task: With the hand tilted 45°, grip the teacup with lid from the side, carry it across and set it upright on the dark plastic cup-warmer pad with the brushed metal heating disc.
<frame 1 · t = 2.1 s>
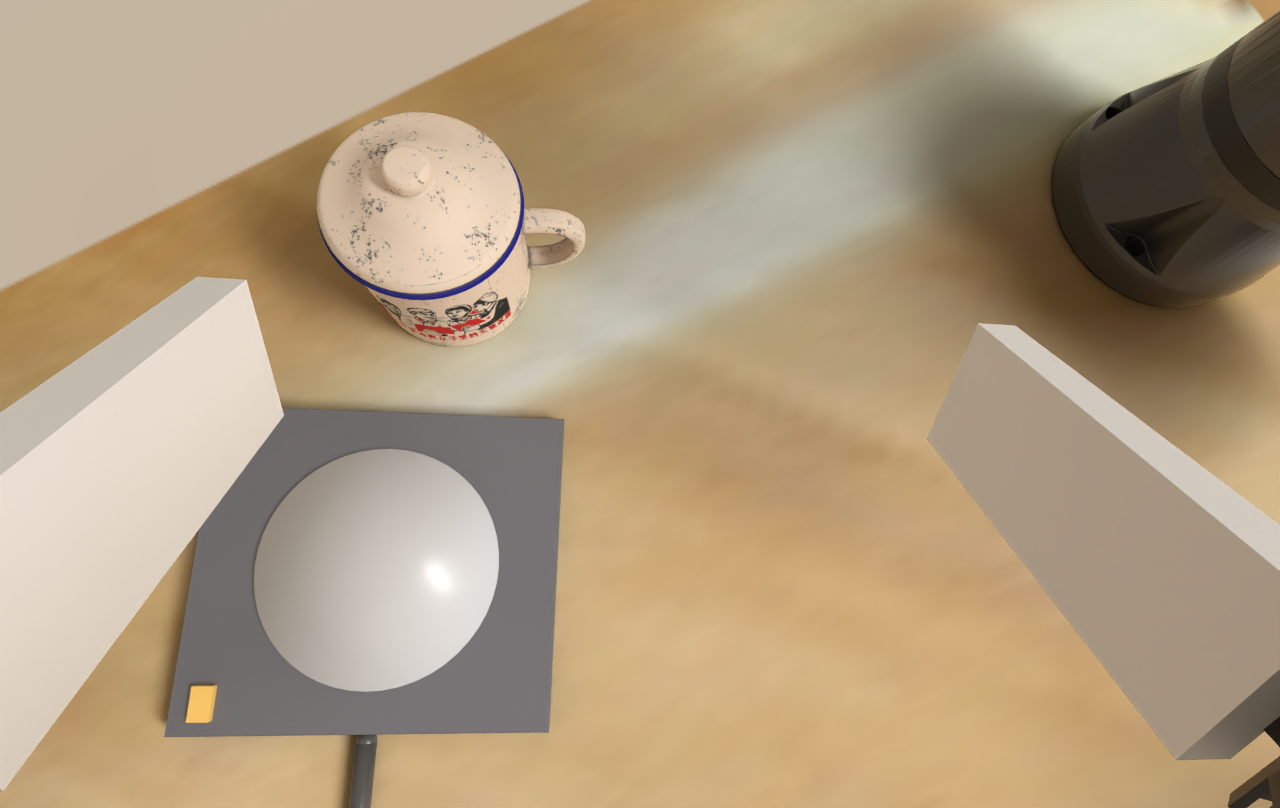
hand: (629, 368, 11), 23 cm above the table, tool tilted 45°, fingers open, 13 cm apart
warming pad: (387, 563, 32), on the table
teacup with lid: (483, 279, 36), on the table
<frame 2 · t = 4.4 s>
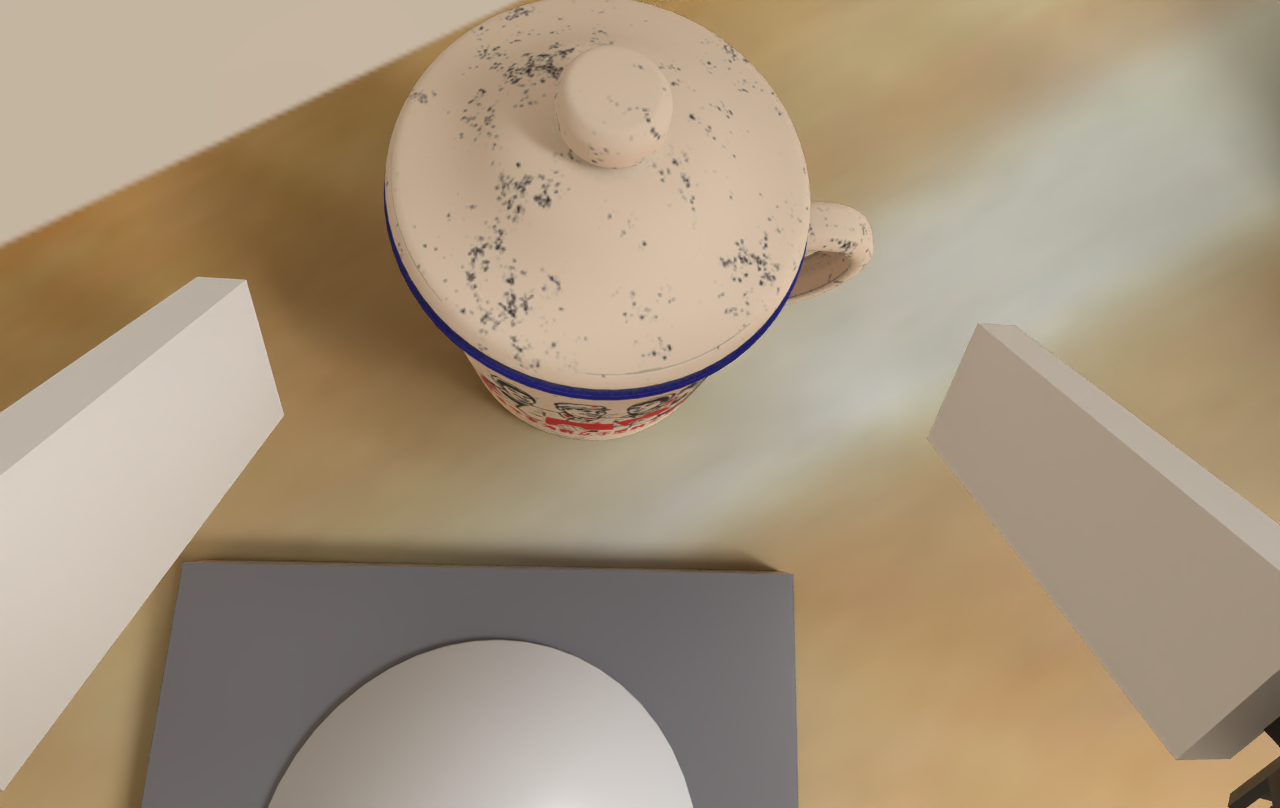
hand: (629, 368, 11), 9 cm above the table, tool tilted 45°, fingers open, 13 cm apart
teacup with lid: (632, 321, 22), on the table
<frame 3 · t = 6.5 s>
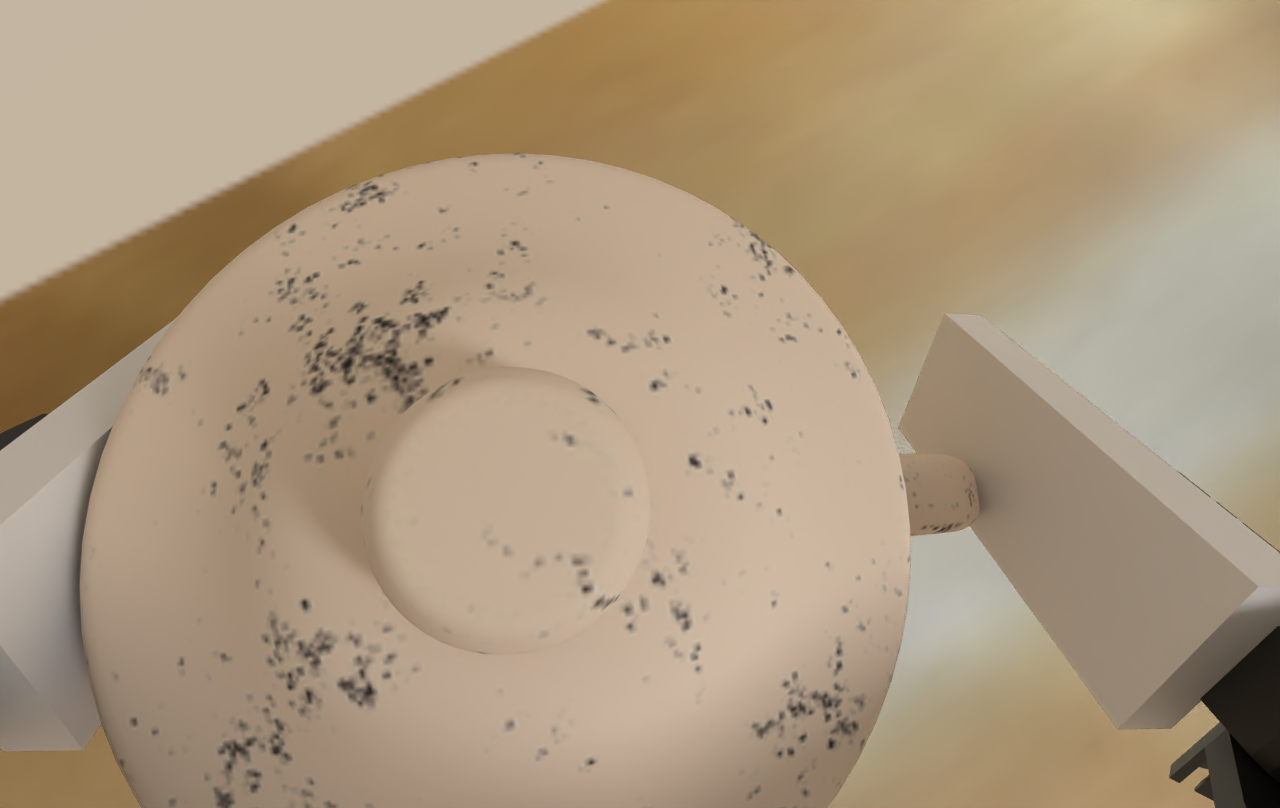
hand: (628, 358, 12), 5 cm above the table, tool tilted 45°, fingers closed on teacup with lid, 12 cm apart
teacup with lid: (608, 520, 16), on the table, touching gripper
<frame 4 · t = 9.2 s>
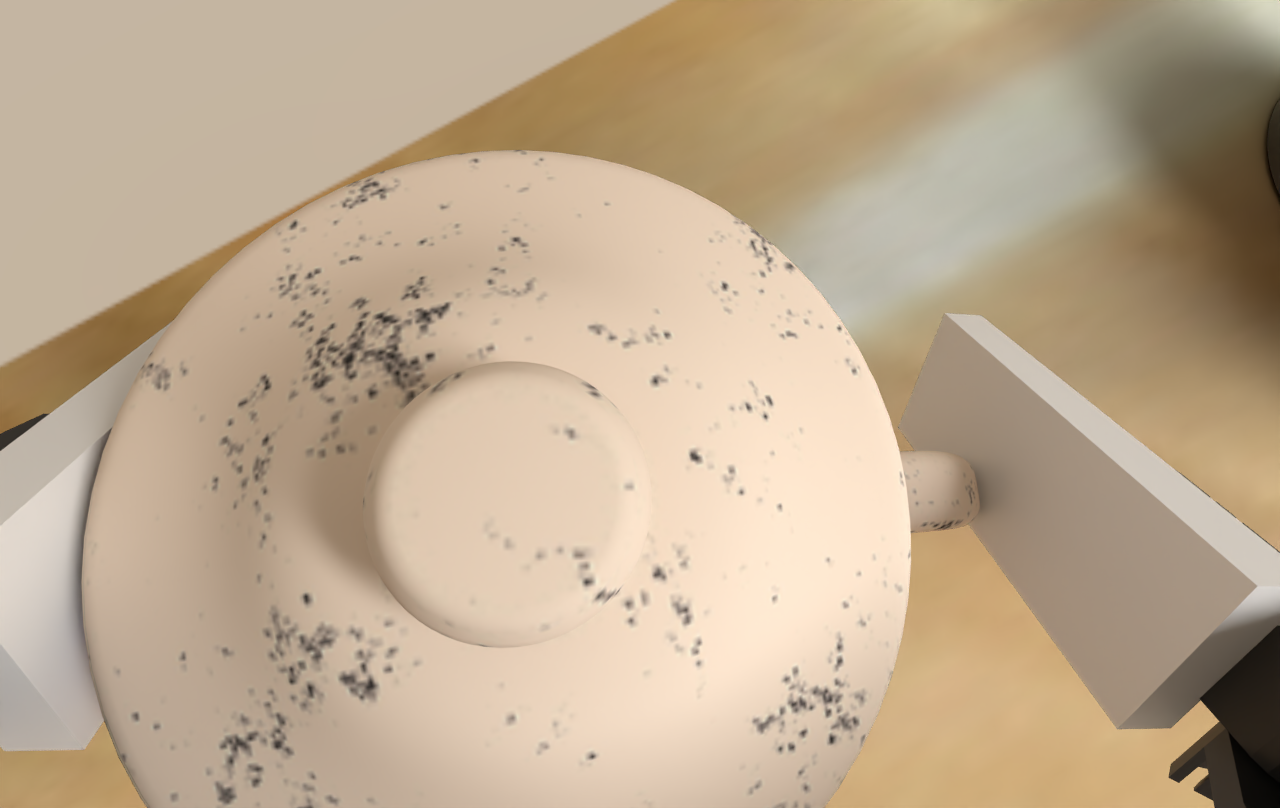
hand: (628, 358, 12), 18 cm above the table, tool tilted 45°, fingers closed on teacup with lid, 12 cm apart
teacup with lid: (608, 518, 16), point 13 cm above the table, touching gripper
when the fingers open (7 cm above the table, at t = 12.1 s): teacup with lid drops 1 cm, resting on warming pad.
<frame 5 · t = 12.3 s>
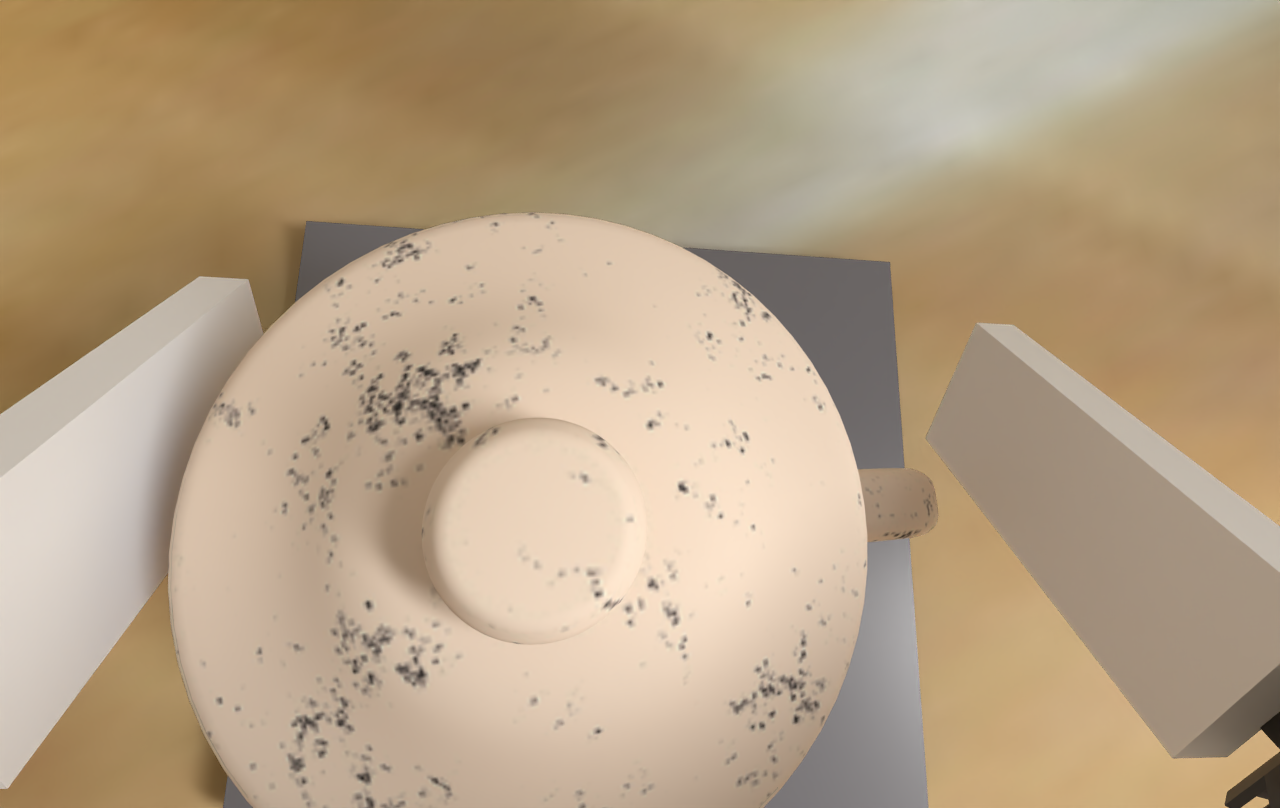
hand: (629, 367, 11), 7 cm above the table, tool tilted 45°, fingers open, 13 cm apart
warming pad: (603, 506, 18), on the table
teacup with lid: (605, 522, 17), point 1 cm above the table, touching warming pad
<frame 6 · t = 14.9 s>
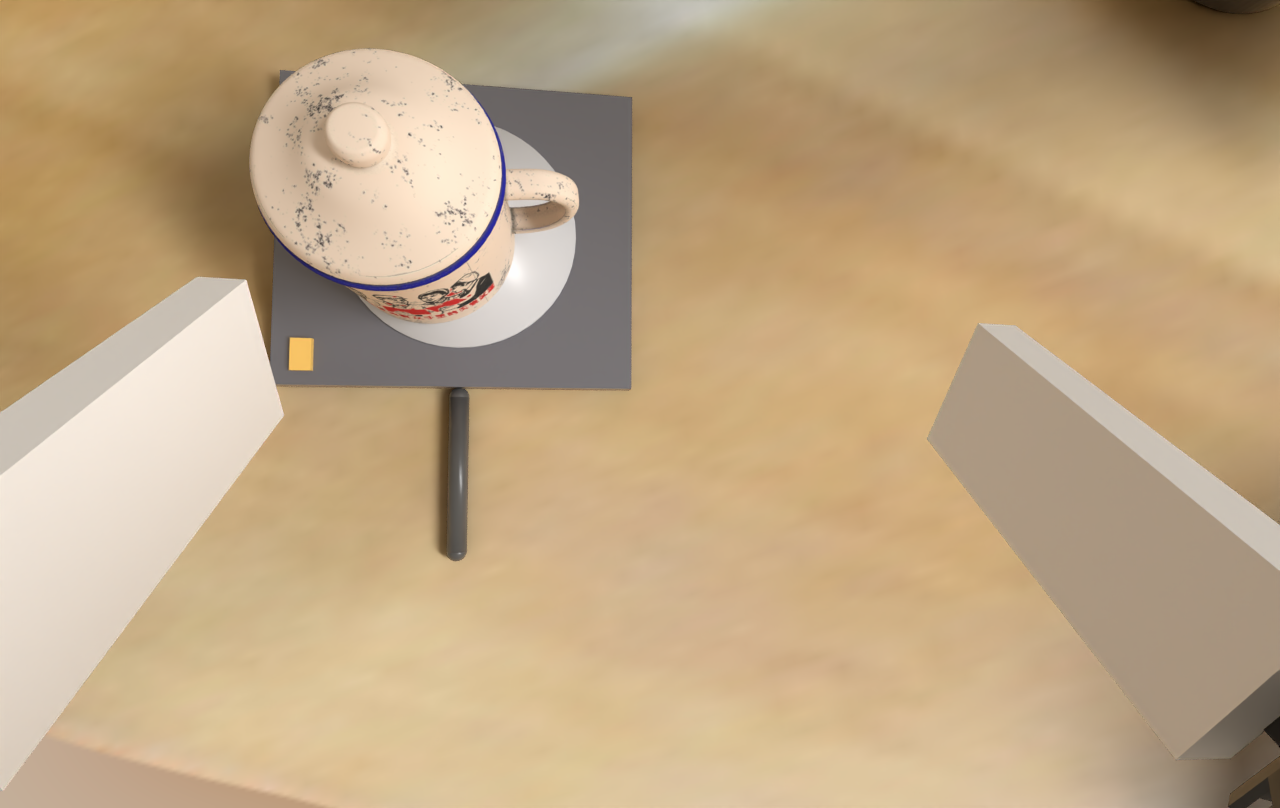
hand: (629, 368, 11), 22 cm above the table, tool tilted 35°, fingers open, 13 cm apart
warming pad: (463, 240, 32), on the table
teacup with lid: (459, 242, 31), point 1 cm above the table, touching warming pad
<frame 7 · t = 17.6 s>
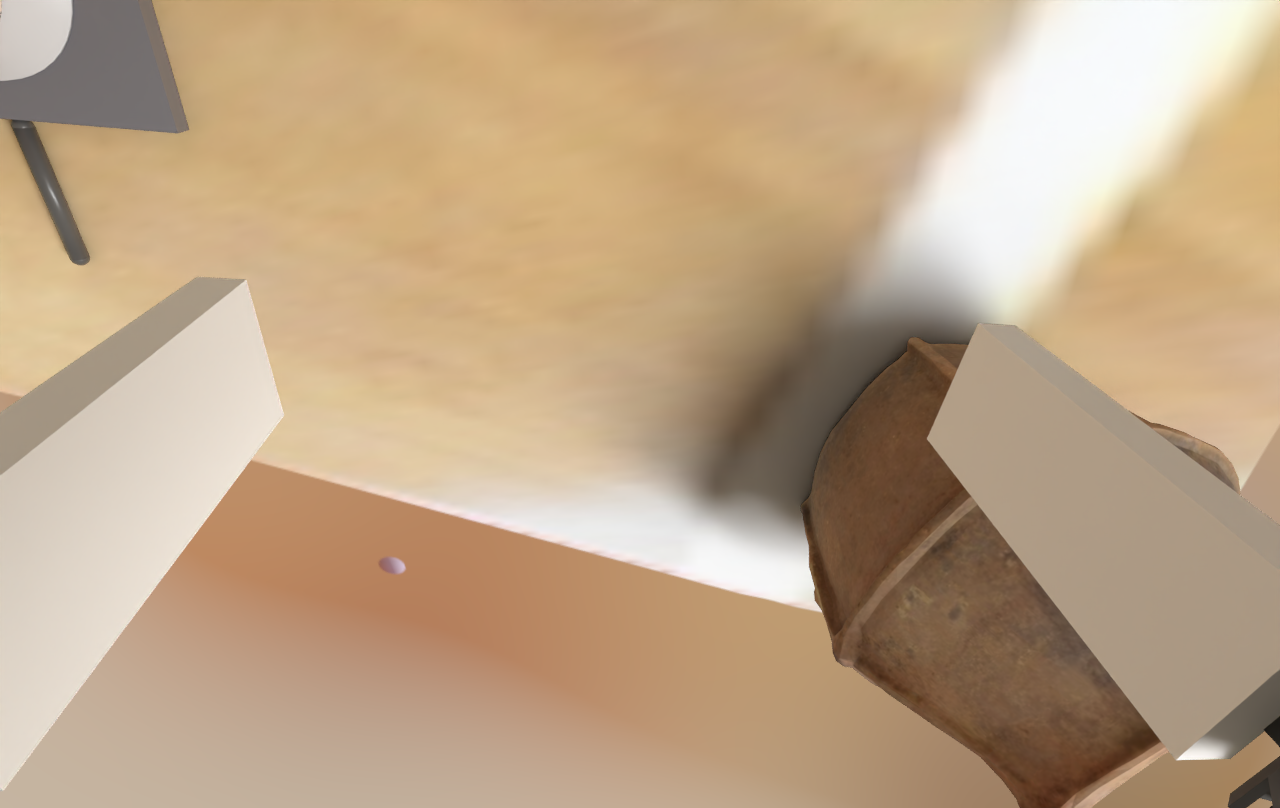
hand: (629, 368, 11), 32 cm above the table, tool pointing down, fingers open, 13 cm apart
hut: (925, 444, 55), on the table
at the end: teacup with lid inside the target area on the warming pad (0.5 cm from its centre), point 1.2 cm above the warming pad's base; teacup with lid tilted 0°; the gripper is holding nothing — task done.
